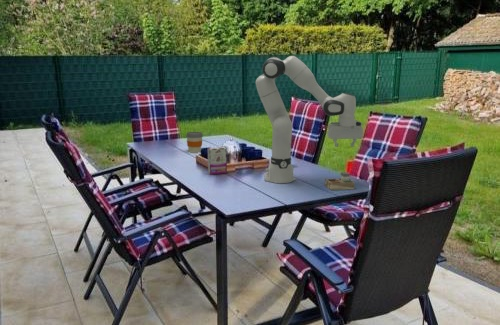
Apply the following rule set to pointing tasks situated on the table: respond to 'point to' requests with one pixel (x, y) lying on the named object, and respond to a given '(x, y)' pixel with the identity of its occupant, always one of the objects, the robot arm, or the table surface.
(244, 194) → the table surface
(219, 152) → the candy bar box
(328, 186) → the socket block
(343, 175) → the plug
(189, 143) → the reusable coffee cup
